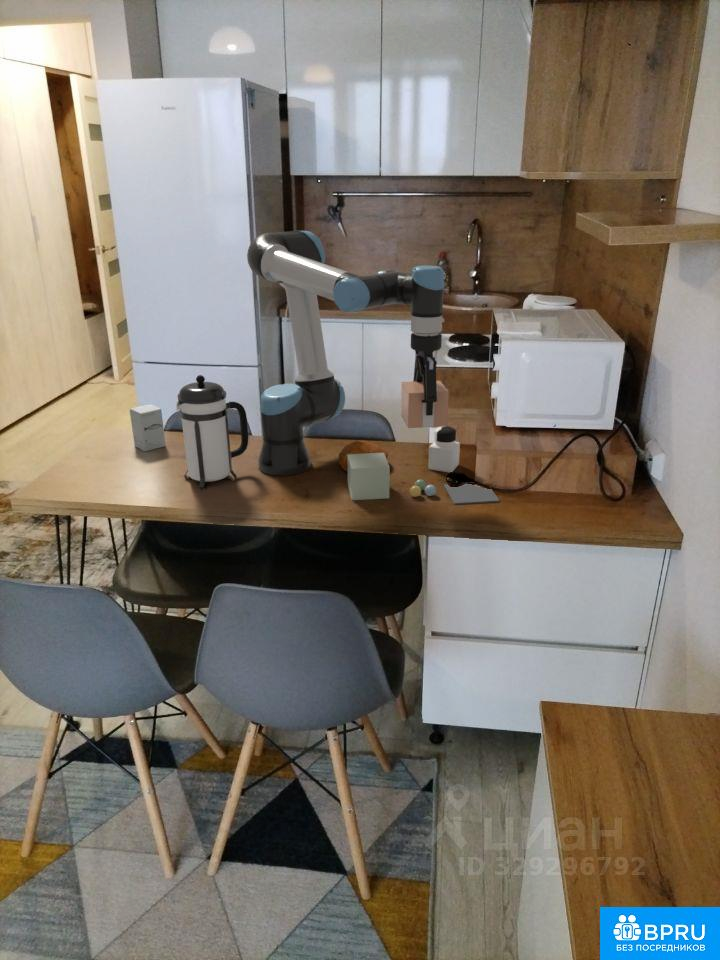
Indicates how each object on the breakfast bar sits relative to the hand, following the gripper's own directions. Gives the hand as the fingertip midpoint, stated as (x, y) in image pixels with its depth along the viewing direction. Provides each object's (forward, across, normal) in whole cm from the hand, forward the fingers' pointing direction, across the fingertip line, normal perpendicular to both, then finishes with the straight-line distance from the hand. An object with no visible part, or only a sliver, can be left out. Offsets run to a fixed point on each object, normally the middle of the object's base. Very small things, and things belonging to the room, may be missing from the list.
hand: (423, 419), depth 177 cm
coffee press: (+21, +18, +56) cm, 62 cm away
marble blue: (+21, -2, -2) cm, 21 cm away
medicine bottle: (+21, +17, -10) cm, 29 cm away
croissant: (+21, +21, +13) cm, 33 cm away
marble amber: (+21, -2, +2) cm, 21 cm away
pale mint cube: (+21, +3, +14) cm, 25 cm away
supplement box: (+21, +46, +78) cm, 93 cm away
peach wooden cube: (0, 0, 0) cm, 0 cm away
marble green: (+21, +2, 0) cm, 21 cm away
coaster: (+21, -2, -13) cm, 24 cm away
